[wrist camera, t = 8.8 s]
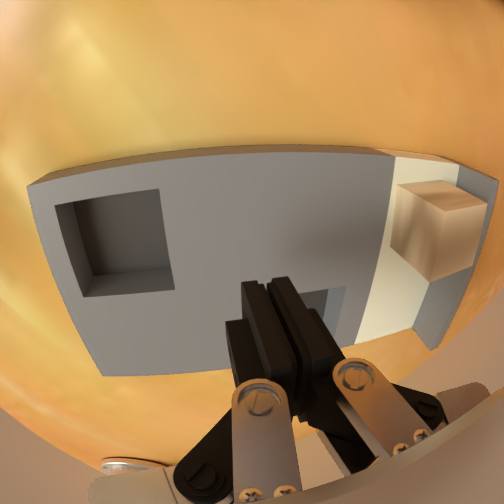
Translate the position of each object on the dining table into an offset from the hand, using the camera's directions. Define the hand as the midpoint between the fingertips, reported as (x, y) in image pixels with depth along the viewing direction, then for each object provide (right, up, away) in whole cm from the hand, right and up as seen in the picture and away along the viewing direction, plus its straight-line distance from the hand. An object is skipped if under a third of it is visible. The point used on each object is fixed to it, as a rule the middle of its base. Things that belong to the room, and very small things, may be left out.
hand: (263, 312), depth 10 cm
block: (+10, +5, +5) cm, 12 cm away
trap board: (+1, +2, +7) cm, 8 cm away
